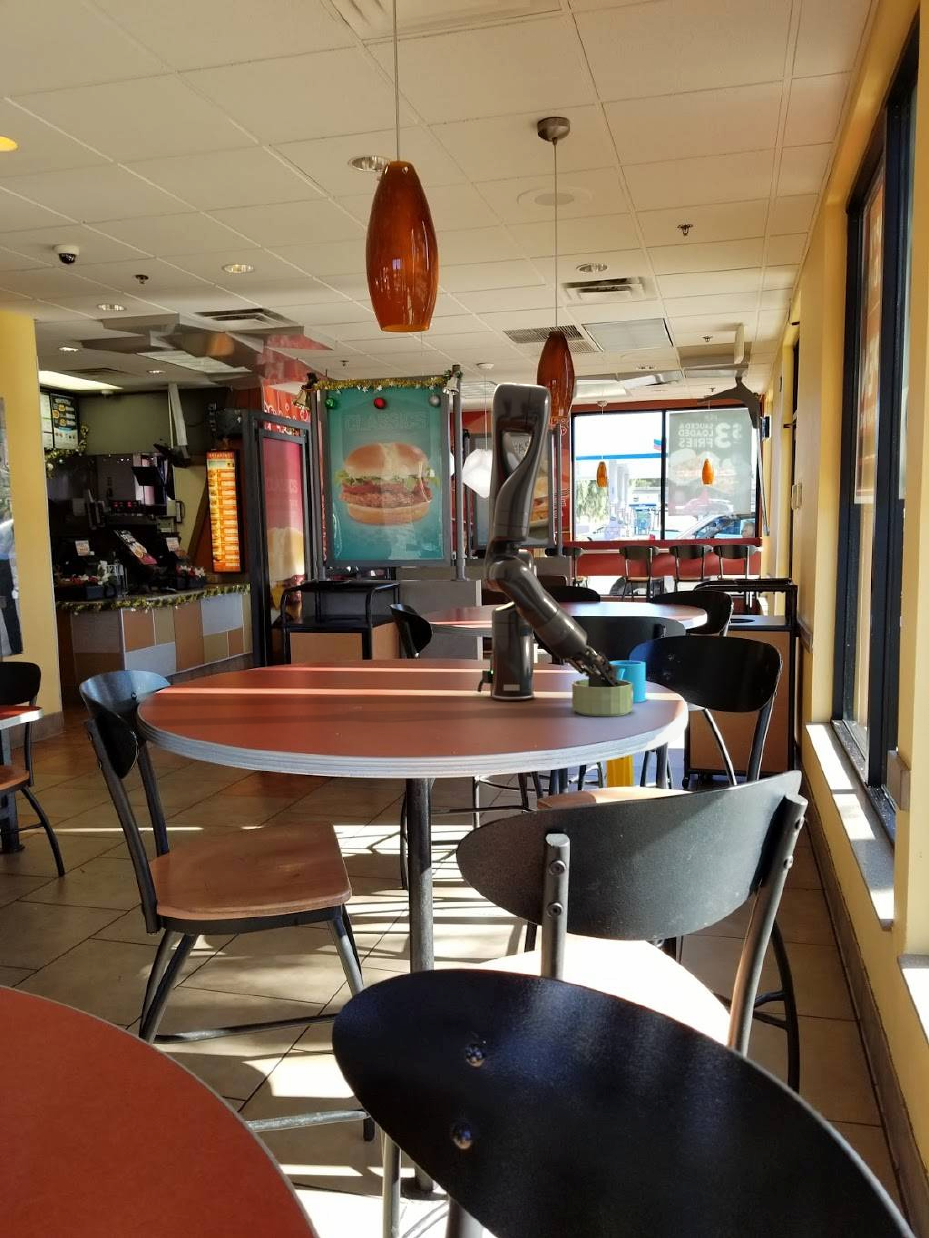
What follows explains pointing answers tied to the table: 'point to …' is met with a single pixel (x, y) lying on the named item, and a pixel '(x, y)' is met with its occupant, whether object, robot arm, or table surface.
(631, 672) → the mug
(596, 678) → the dark rectangular block
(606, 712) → the bowl
